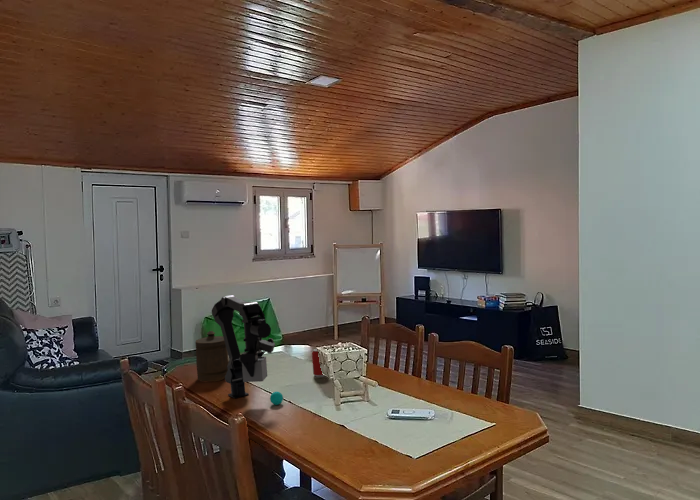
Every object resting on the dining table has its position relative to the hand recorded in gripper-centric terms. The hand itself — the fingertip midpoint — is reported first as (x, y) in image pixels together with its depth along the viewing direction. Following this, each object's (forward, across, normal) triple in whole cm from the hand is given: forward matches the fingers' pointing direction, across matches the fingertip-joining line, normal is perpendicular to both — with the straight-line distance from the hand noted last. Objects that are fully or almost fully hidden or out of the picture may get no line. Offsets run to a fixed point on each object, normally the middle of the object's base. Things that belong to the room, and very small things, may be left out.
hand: (254, 373), depth 232 cm
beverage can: (+12, +37, -20) cm, 44 cm away
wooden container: (+12, +41, +31) cm, 53 cm away
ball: (+9, -2, -8) cm, 13 cm away
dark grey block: (+2, 0, 0) cm, 2 cm away
